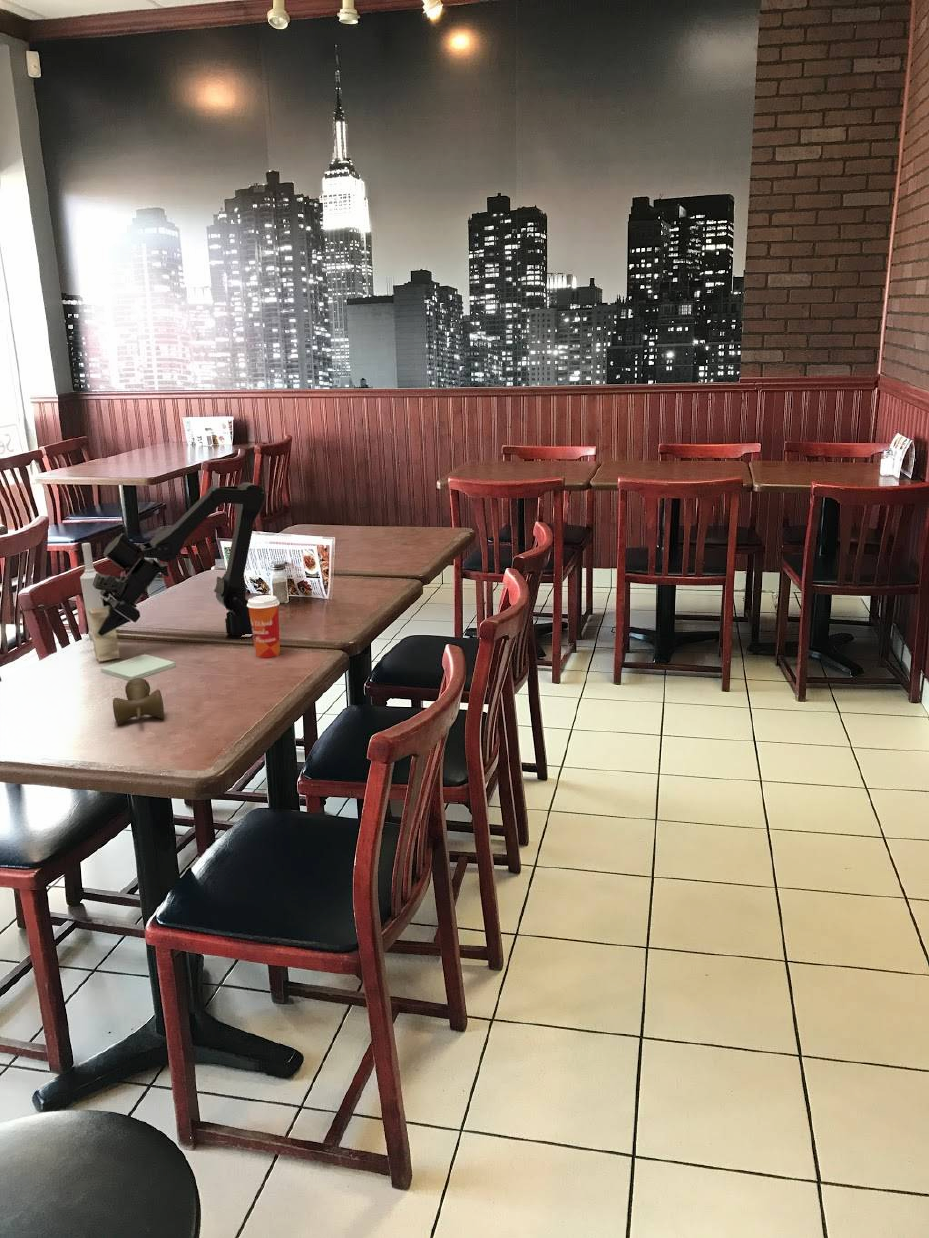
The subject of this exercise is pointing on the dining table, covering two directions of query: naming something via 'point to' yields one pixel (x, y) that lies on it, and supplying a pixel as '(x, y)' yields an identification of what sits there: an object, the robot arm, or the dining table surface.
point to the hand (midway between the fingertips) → (97, 631)
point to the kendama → (138, 702)
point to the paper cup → (265, 625)
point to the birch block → (106, 643)
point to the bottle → (89, 585)
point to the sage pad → (138, 667)
